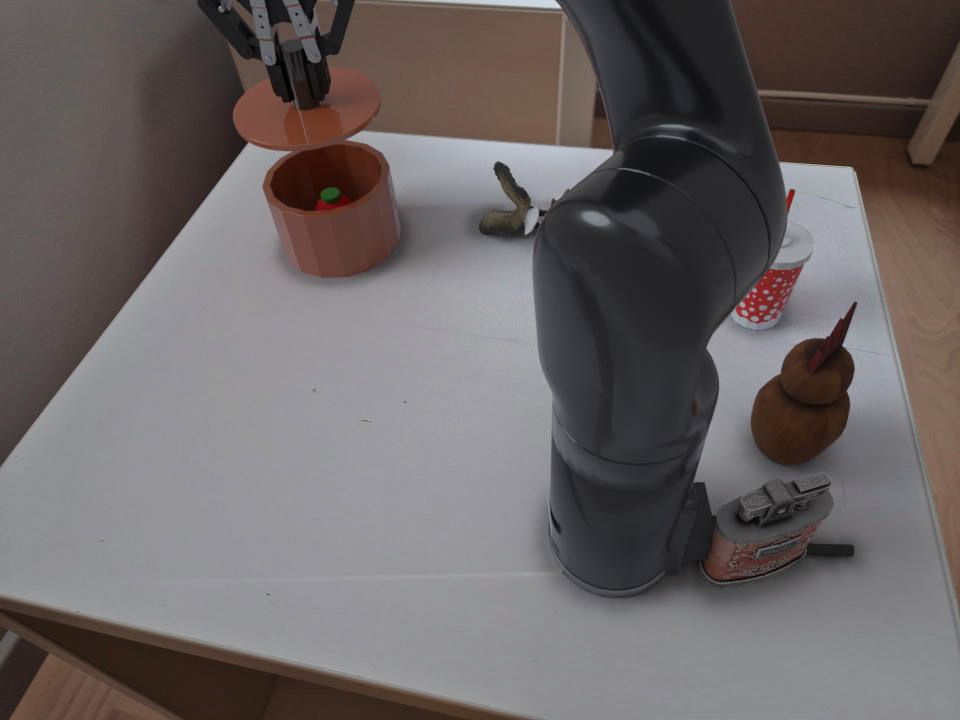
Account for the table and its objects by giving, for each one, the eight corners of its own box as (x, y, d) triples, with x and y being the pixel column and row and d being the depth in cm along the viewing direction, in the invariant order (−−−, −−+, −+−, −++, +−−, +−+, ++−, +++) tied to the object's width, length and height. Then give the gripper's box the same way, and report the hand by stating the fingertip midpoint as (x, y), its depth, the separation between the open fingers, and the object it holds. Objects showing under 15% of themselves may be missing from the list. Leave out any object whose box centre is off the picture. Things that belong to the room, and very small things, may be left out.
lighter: (711, 597, 53) (740, 530, 46) (689, 555, 55) (713, 484, 48) (813, 564, 54) (857, 493, 47) (787, 524, 56) (826, 450, 49)
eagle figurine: (572, 201, 82) (498, 171, 83) (569, 179, 75) (489, 145, 76) (541, 264, 81) (468, 232, 83) (536, 247, 74) (456, 212, 76)
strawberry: (362, 223, 82) (352, 179, 78) (358, 248, 80) (347, 204, 75) (325, 225, 83) (312, 181, 78) (319, 250, 80) (306, 206, 75)
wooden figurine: (798, 405, 64) (853, 274, 52) (843, 458, 60) (913, 330, 49) (728, 431, 62) (770, 303, 51) (770, 487, 59) (825, 362, 47)
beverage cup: (735, 281, 74) (768, 160, 63) (797, 304, 71) (843, 182, 61) (710, 320, 70) (741, 199, 60) (774, 345, 68) (818, 223, 57)
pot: (404, 202, 85) (393, 137, 79) (396, 278, 77) (382, 212, 70) (295, 207, 86) (275, 143, 79) (275, 283, 78) (251, 218, 71)
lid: (388, 74, 74) (377, 5, 69) (375, 153, 65) (361, 81, 60) (252, 81, 75) (232, 14, 69) (221, 161, 66) (195, 90, 61)
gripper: (143, -93, 53) (221, 124, 66) (337, -106, 53) (377, 116, 66) (172, -128, 58) (239, 80, 71) (349, -141, 57) (384, 72, 70)
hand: (305, 96), depth 68 cm, fingers closed on lid, 2 cm apart
